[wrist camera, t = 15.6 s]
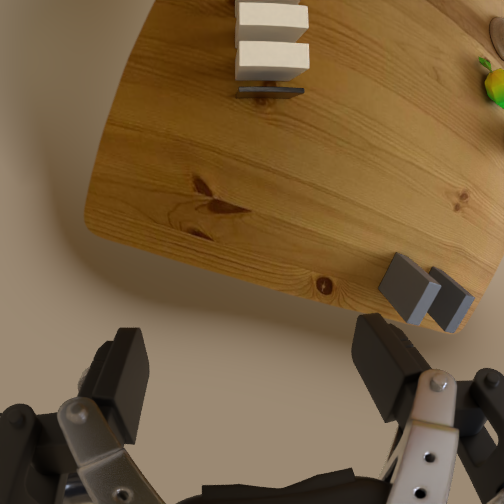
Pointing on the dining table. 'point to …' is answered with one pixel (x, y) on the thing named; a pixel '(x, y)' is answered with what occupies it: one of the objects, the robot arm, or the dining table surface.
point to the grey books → (424, 294)
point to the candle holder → (498, 35)
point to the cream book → (270, 60)
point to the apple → (494, 83)
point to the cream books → (269, 34)
